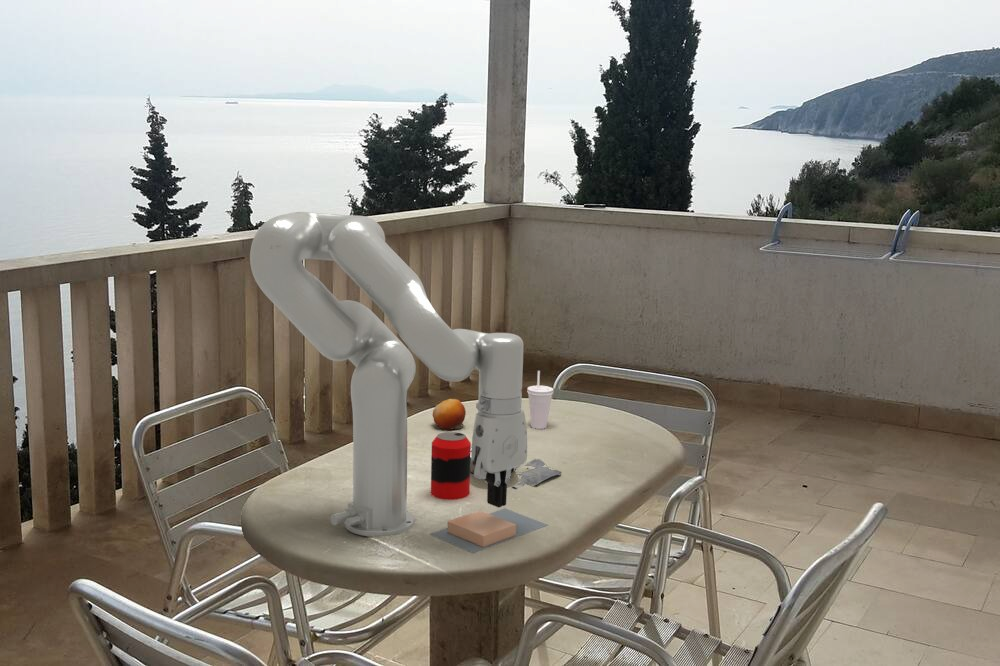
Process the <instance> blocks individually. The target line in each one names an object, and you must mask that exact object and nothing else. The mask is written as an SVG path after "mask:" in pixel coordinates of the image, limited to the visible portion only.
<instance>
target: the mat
mask: <svg viewBox="0 0 1000 666" xmlns="http://www.w3.org/2000/svg"><path fill="white" fill-rule="evenodd" d="M489 514H491V515H493V516H496V517H498V518H501V519H504V520H506V521H509V522H511V523H514V524H516V535H515V536H512V537H510V538H507V539H504V540H502V541H499V542H496V543H494V544H491V545H488V546H485V547H482V546H479V545H477V544H475V543H472V542H470V541H468V540H465V539H463V538H460V537H458V536H456V535H453V534H451V533H449V532H447V531H448V527H446V528H443V529H440V530H437V531H434V532H431V533H429V535H430V536H432V537H435V538H437V539H439V540H442V541H444V542H446V543H447V544H451V545H453V546H455V547H458V548H460V549H462V550H465V551H467V552H469V553H472V554H475V553H478V552H480V551H483V550H486V549H488V548H491V547H494V546H497V545H499V544H501V543H505V542H507V541H510V540H512V539H515V538H518V537H520V536H524V535H527V534H529V533H531V532H534V531H536V530H539V529H542V528H545V527H547V526H549V524H547V523H545V522H542V521H539V520H536V519H534V518H531V517H528V516H526V515H524V514H521V513H519V512H516V511H513V510H510V509H508V508H501V509H499V510H496V511H493V512H490V513H489Z"/></svg>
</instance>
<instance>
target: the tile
mask: <svg viewBox="0 0 1000 666" xmlns="http://www.w3.org/2000/svg"><path fill="white" fill-rule="evenodd" d="M447 528H448V531H447V532H449V533H451V534H453V535H456V536H458V537H460V538H463V539H465V540H468V541H470V542H472V543H475V544H477V545H479V546H482V547H485V546H488V545H491V544H494V543H496V542H499V541H502V540H504V539H507V538H510V537H512V536H515V535H516V524H514V523H511V522H509V521H506V520H504V519H501V518H498V517H496V516H493V515H491V514H490V513H488V512H485V511H482V510H481V509H480V510H477V511H474V512H471V513H468V514H465V515H462V516H459V517H456V518H454V519H450V520H448V521H447Z"/></svg>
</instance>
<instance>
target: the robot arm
mask: <svg viewBox="0 0 1000 666" xmlns="http://www.w3.org/2000/svg"><path fill="white" fill-rule="evenodd" d="M256 231H257V232H256V233H255V235H254V236H253V238H252V242H251V247H250V253H249V264H250V269H251V274H252V276H253V278H254V280H255V282H256V284H257V286H258V287H259V288H260V290H261V291H262V293H263V294H264V295H265V296H266V297H267V298H268V300H270V301H271V303H272V304H274V306H276V308H278V310H279V311H280V312H281V313H282V314H283V315H284V316H285V317H286V318H287V319H288V320H289V321H290V323H291V324H292V325H293V326H294V327H295V328H296V329H297V330H298V331H299V332H300V334H302V335H303V337H305V338H306V339H307V341H309V343H310V344H311V345H312V346H313V347H314V348H315V349H316V350H317V351H318V352H319V353H320V354H321V355H322V356H323V357H324V358H326V359H328V360H330V361H333V362H343V361H346V360H348V361H349V362H350V363H352V365H353V366H355V368H354V370H353V372H352V376H351V381H350V399H351V408H352V410H351V411H352V429H353V430H352V439H353V440H352V442H353V443H352V445H353V446H352V449H353V453H352V454H353V455H352V457H353V461H352V462H353V464H352V465H353V467H352V469H353V470H352V474H353V475H352V477H353V478H352V486H353V487H352V491H353V492H352V501H349V502H348V504H347V507H348V508H346V509H345V510H344V511H340V512H337V513H333V514H331V515H330V519H329V520H330V523H331V524H332V525H333V526H337V525H340V524H343V526H344V528H346V530H347V531H349V532H350V533H352V534H355V535H357V536H358V535H359V536H361V537H362V536H363V537H371V538H374V537H384V536H385V537H386V536H392V535H393V536H394V535H399V534H402V533H405V532H407V531H409V530H411V529H412V528H413V527H414V526H415V524H416V518H415V515H414V514H413V513H412V512H410V511H409V510H407V509H408V508H407V504H408V503H407V496H408V494H407V491H408V411H407V409H408V406H407V393H408V389H409V388H410V386H411V384H412V382H413V380H414V378H415V375H416V362H415V359H414V356H413V354H414V355H415V356H416V357H417V358H418V359H419V360H420V361H421V362H422V363H423V364H424V365H425V366H426V367H427V369H429V370H430V372H432V373H433V374H434V375H435V376H436V377H438V378H440V379H441V380H443V381H446V382H452V383H456V382H457V383H458V382H461V381H463V380H466V379H467V378H469V376H470V375H471V374H472V373H473V371H474V370H476V371H478V401H477V403H476V404H475V408H476V410H477V412H476V415H475V420H474V424H473V430H472V437H471V455H470V462H471V465H472V467H473V468H474V472H473V478H476V479H479V480H484V482H485V483H486V484H487V494H486V495H487V497H486V498H487V499H486V501H487V504H488V505H491V506H493V507H496V508H502V507H505V506H506V505H507V496H508V490H507V489H508V484H509V483H510V481H511V479H510V476H511V474H512V472H515V471H516V470H515V469H519V468H520V467H521V466H522V465H524V464H525V463H526V462H527V460H528V459H527V458H528V430H527V419H526V415H525V410H524V409H522V399H523V397H522V396H523V395H522V393H523V369H524V368H523V366H524V341H523V339H522V337H520V336H519V335H517V334H514V333H510V332H491V333H490V332H481V331H476V330H473V329H465V328H455V329H452V328H451V327H450V326H449V325H448V324H447V323H446V322H445V320H444V319H442V317H441V316H440V315H439V314H438V312H437V311H436V310H435V308H434V307H433V305H432V303H431V302H430V300H429V297H428V296H427V293H426V289H425V287H424V284H423V283H422V280H421V279H420V277H419V276H418V274H417V273H415V271H413V269H412V268H411V267H409V265H408V264H407V263H406V262H405V261H404V260H403V259H402V257H400V255H398V254H397V253H396V252H395V251H394V250H393V248H391V246H389V244H388V243H387V242H386V235H385V231H384V230H383V228H382V225H380V224H379V223H378V221H376V220H375V219H373V218H371V217H368V216H364V215H354V214H336V213H323V212H312V211H311V212H309V211H292V212H289V213H284V214H281V215H276V216H273V217H272V218H270V219H268V220H266V221H265V222H264V223H262V225H260V227H259V228H258V229H257V230H256ZM309 259H310V260H321V261H334V262H335V263H336V264H337V265H338V266H339V267H340V268H341V269H342V270H343V272H344V273H345V274H346V275H347V276H348V277H350V278H351V280H352V281H353V282H354V283H355V284H356V285H357V286H358V287H359V288H360V289H361V290H362V291H363V292H364V294H366V295H367V296H368V297H369V298H370V299H371V301H373V303H375V304H376V306H377V307H378V308H379V309H380V310H381V311H382V312H383V314H384V315H385V317H386V318H387V320H388V321H389V323H390V324H391V326H392V327H393V329H394V330H395V331H396V333H397V334H398V335H399V337H400V338H401V340H402V341H403V342H402V341H401V340H400V339H399V338H398V337H397V336H396V335H395V334H394V333H393V332H392V331H391V329H390V328H389V327H387V325H386V324H385V323H384V322H383V321H382V320H381V319H380V318H379V317H378V316H377V315H376V314H375V313H374V312H373V311H372V310H371V309H370V308H368V307H367V306H366V305H364V304H362V303H361V302H359V301H356V300H350V299H347V300H346V299H344V300H339V299H338V298H337V297H336V296H335V295H334V294H333V293H332V292H331V291H330V290H329V289H328V288H327V287H326V286H325V284H324V283H323V282H322V281H321V280H320V279H319V278H317V277H316V276H315V275H314V274H312V273H311V272H310V271H308V270H307V269H306V267H305V265H304V264H303V261H304V260H309ZM404 343H405V344H404ZM408 348H409V349H408ZM410 350H411V351H410ZM411 352H412V353H413V354H412V353H411Z"/></svg>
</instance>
